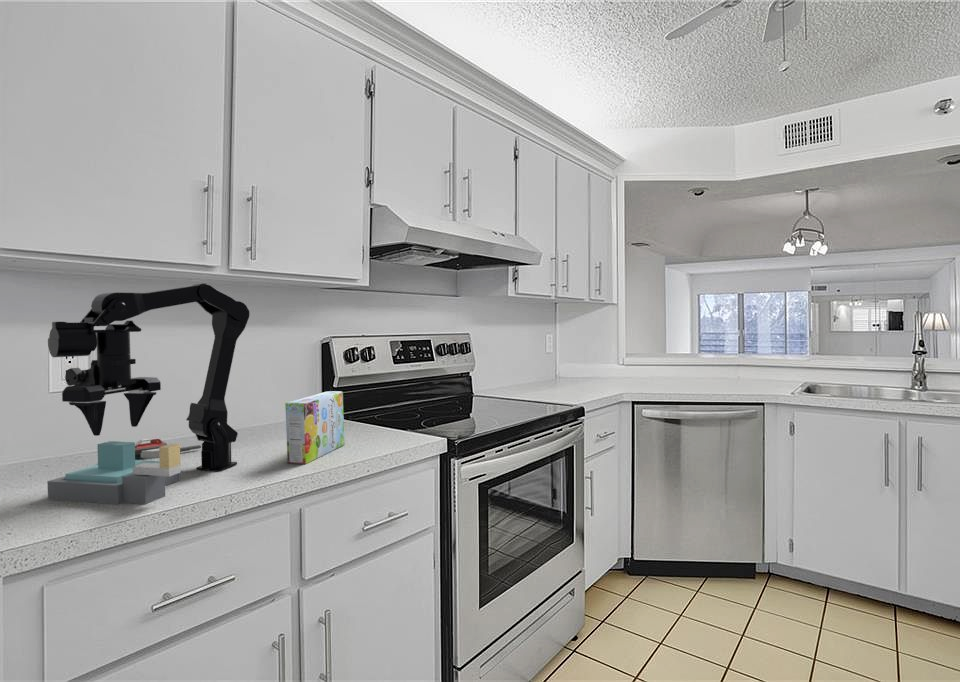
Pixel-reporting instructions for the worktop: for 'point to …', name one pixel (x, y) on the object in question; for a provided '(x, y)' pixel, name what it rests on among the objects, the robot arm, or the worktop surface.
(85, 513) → the worktop surface
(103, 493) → the tray
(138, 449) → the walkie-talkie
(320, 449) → the snack box
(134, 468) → the white yellow l-shaped block
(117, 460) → the cover
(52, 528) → the worktop surface
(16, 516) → the worktop surface
